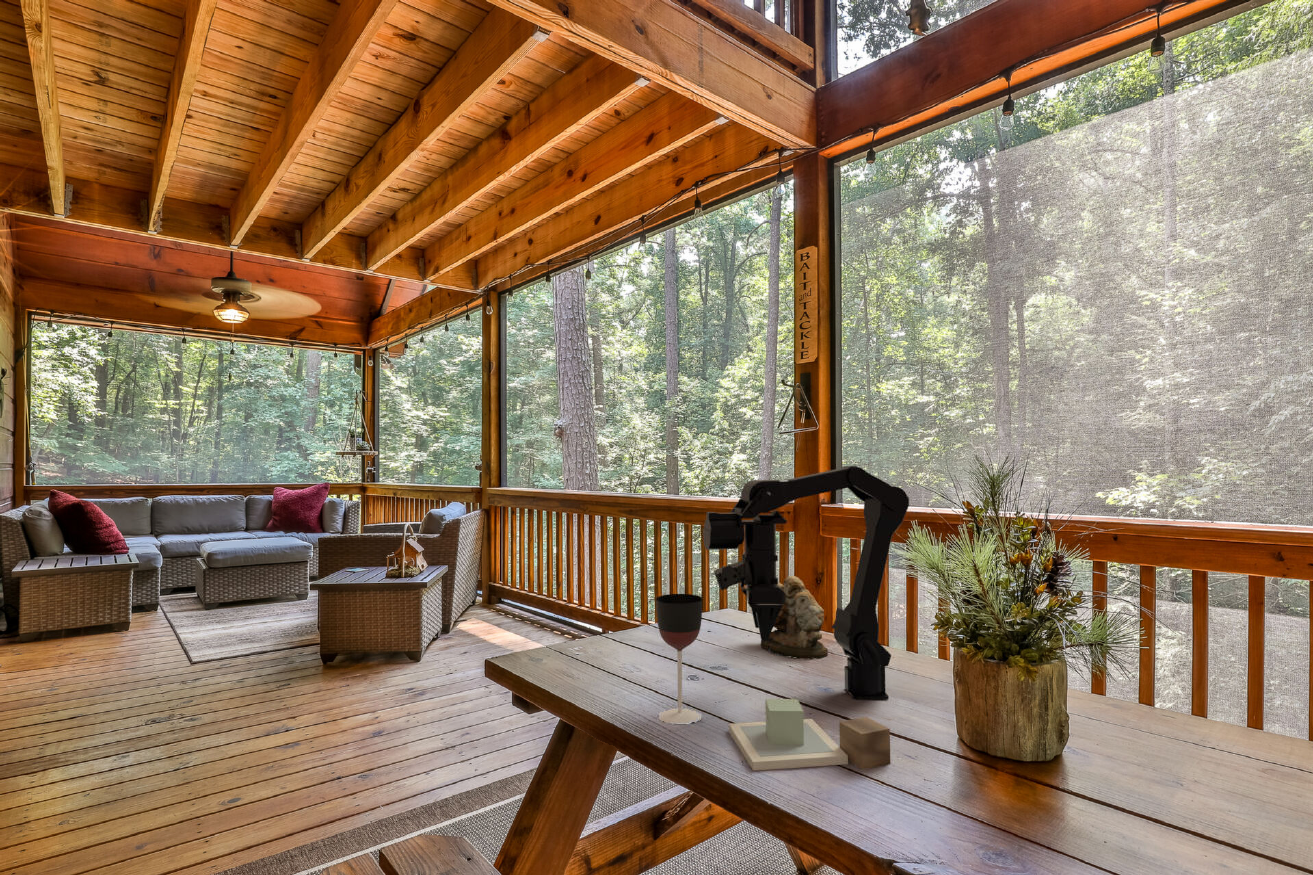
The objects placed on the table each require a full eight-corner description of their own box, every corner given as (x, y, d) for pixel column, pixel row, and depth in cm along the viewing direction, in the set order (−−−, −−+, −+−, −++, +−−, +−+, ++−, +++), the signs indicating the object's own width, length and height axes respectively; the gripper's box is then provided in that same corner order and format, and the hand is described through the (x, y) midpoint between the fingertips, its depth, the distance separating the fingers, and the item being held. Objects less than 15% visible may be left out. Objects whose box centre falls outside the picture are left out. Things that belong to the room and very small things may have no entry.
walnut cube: (867, 750, 100) (866, 716, 100) (890, 764, 95) (889, 728, 95) (839, 756, 98) (839, 721, 98) (862, 770, 93) (861, 734, 93)
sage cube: (797, 731, 103) (797, 699, 104) (803, 745, 98) (803, 711, 99) (765, 731, 104) (765, 699, 104) (770, 744, 99) (769, 710, 99)
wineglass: (707, 709, 117) (706, 594, 117) (697, 728, 108) (696, 604, 109) (664, 705, 119) (663, 592, 120) (650, 723, 110) (650, 602, 111)
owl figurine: (745, 647, 157) (744, 574, 158) (774, 638, 165) (773, 569, 166) (811, 662, 144) (809, 583, 145) (839, 652, 152) (838, 577, 153)
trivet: (811, 726, 109) (811, 718, 109) (847, 764, 95) (847, 755, 95) (728, 731, 107) (728, 723, 107) (753, 770, 93) (753, 761, 93)
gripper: (714, 542, 132) (714, 621, 131) (719, 555, 113) (720, 647, 112) (770, 542, 131) (771, 622, 131) (784, 555, 113) (786, 648, 112)
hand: (761, 634), depth 121 cm, fingers open, 9 cm apart
